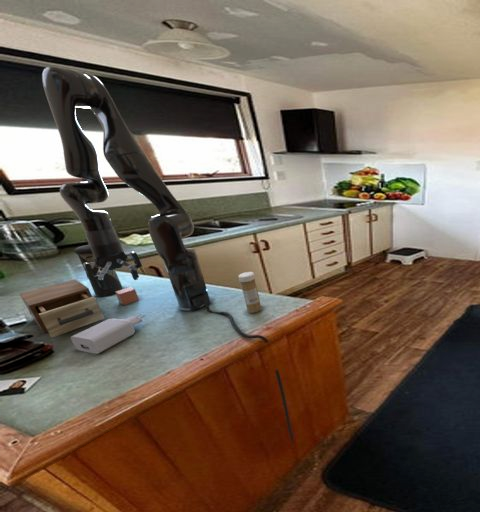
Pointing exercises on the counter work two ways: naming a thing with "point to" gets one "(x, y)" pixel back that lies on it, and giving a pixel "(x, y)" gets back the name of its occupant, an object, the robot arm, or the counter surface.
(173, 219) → the robot arm
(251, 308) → the sprinkles bottle
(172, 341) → the counter surface
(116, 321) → the charger
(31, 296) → the cabinet
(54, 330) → the drawer
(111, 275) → the container
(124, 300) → the block
